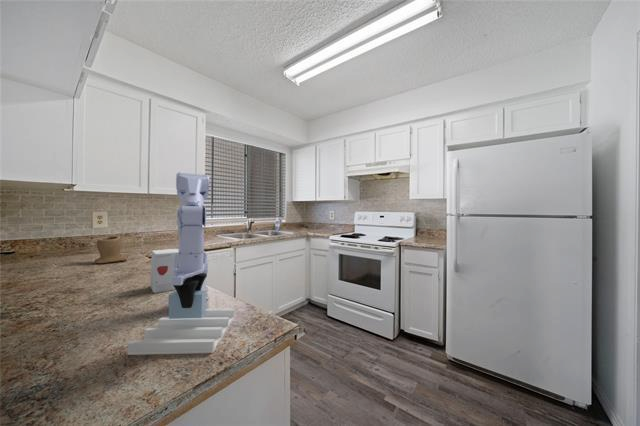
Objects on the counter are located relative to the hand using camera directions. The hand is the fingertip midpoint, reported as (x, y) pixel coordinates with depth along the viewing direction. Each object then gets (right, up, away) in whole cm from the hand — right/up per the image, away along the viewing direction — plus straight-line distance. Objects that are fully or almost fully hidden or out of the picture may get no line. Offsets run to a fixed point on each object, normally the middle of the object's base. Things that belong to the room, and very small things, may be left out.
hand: (190, 304), depth 63 cm
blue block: (-1, -3, 0) cm, 3 cm away
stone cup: (-85, -5, +75) cm, 113 cm away
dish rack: (0, -7, 0) cm, 7 cm away
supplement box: (-28, -7, +34) cm, 44 cm away
